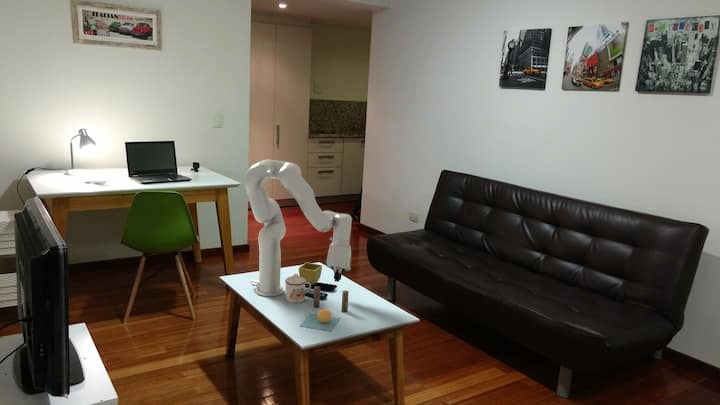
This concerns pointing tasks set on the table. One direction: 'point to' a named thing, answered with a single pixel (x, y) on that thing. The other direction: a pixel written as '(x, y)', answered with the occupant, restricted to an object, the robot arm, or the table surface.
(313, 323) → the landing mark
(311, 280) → the flower pot
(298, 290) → the teacup with lid
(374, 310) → the table surface
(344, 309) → the right post
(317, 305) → the left post
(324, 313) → the ball
